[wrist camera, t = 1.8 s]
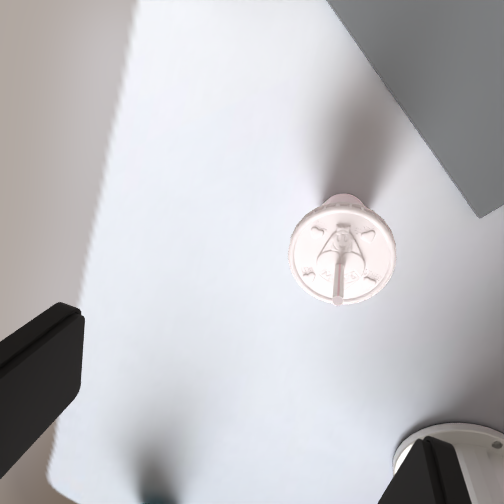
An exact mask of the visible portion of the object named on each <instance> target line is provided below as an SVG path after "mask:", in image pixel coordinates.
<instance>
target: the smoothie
mask: <svg viewBox="0 0 504 504" xmlns="http://www.w3.org/2000/svg"><path fill="white" fill-rule="evenodd" d="M288 260H289V265H290V269H291V272H292V274H293V276H294V278H295V280H296V281H297V282H298V284H299V285H300V286H301V287H302V288H303V289H304V290H305V291H306V292H307V293H309V294H310V295H312V296H313V297H315V298H317V299H319V300H321V301H324V302H328V303H332V304H334V305H336V306H340V305H342V304H353V303H358V302H361V301H364V300H366V299H368V298H370V297H372V296H374V295H375V294H377V293H378V292H379V291H380V290H381V289H382V288H383V287H384V286H385V285H386V284H387V283H388V281H389V280H390V278H391V276H392V274H393V271H394V268H395V264H396V247H395V241H394V238H393V234H392V231H391V230H390V228H389V227H388V225H387V224H386V222H385V221H384V219H382V218H381V217H380V216H379V215H378V214H376V213H375V212H374V211H373V210H371V209H368V208H366V207H365V205H364V204H363V203H362V202H361V201H360V200H359V199H358V198H357V197H355V196H353V195H351V194H346V193H341V194H336V195H334V196H332V197H330V198H329V199H327V200H326V201H325V202H324V203H323V205H322V206H320V207H317V208H315V209H314V210H312V211H311V212H309V213H308V214H306V215H305V216H304V217H303V218H302V220H301V221H300V222H299V223H298V224H297V225H296V227H295V230H294V232H293V234H292V236H291V240H290V244H289V251H288Z"/></svg>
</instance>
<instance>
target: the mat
mask: <svg viewBox="0 0 504 504" xmlns="http://www.w3.org/2000/svg"><path fill="white" fill-rule="evenodd" d="M326 1H327V2H328V3H329V5H330V6H331V8H332V9H333V11H334V12H335V13H336V15H337V16H338V18H339V19H340V21H341V22H342V23H343V25H344V26H345V28H346V29H347V31H348V32H349V33H350V35H351V36H352V38H353V39H354V41H355V42H356V43H357V45H358V46H359V48H360V49H361V51H362V52H363V53H364V55H365V56H366V58H367V59H368V61H369V62H370V63H371V65H372V66H373V68H374V69H375V71H376V72H377V74H378V75H379V76H380V78H381V79H382V81H383V82H384V84H385V85H386V86H387V88H388V89H389V91H390V92H391V94H392V95H393V96H394V98H395V99H396V101H397V102H398V104H399V105H400V106H401V108H402V109H403V111H404V112H405V114H406V115H407V116H408V118H409V119H410V121H411V122H412V124H413V125H414V126H415V128H416V129H417V131H418V132H419V134H420V135H421V137H422V138H423V139H424V141H425V142H426V144H427V145H428V147H429V148H430V149H431V151H432V152H433V154H434V155H435V157H436V158H437V159H438V161H439V162H440V164H441V165H442V167H443V168H444V169H445V171H446V172H447V174H448V175H449V177H450V178H451V179H452V181H453V182H454V184H455V185H456V187H457V188H458V189H459V191H460V192H461V194H462V195H463V197H464V198H465V200H466V201H467V202H468V204H469V205H470V207H471V208H472V210H473V211H474V212H475V214H476V215H477V217H479V218H482V217H483V216H485V215H487V214H489V213H490V212H492V211H494V210H495V209H497V208H499V207H501V206H502V205H504V0H326Z"/></svg>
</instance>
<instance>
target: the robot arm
mask: <svg viewBox="0 0 504 504" xmlns="http://www.w3.org/2000/svg"><path fill="white" fill-rule="evenodd" d="M84 326H85V318H84V316H82V315H81V311H80V309H78V308H76V307H73V306H70V305H67V304H65V303H61V302H58V303H56V304H54V305H53V306H52V307H50V308H49V309H47V310H46V311H44V312H43V313H41V314H40V315H38V316H37V317H35V318H34V319H33V320H31V321H30V322H28V323H27V324H25V325H24V326H23V327H21V328H19V329H18V330H17V331H15V332H14V333H13V334H11V335H9V336H8V337H6V338H5V339H4V340H2V341H1V342H0V479H1V478H2V477H3V476H4V475H5V474H6V473H7V471H8V470H9V469H10V468H11V467H12V466H13V465H14V464H15V463H16V462H17V461H18V460H19V458H20V457H21V456H22V455H23V454H24V453H25V452H26V451H27V450H28V449H29V448H30V447H31V445H32V444H33V443H34V442H35V441H36V440H37V439H38V438H39V437H40V435H42V434H43V432H44V431H45V430H46V429H47V428H48V427H49V426H50V425H51V424H52V423H53V422H54V421H55V419H56V418H57V417H58V416H59V415H60V414H61V413H62V412H63V411H64V410H65V409H66V408H67V406H68V405H69V404H70V403H71V402H72V401H73V400H74V399H75V397H76V396H77V394H78V392H79V390H80V386H81V371H82V356H83V341H84ZM392 467H393V479H392V480H391V482H390V484H389V485H388V487H387V489H386V490H385V492H384V494H383V495H382V497H381V499H380V500H379V502H378V504H504V434H503V433H501V432H498V431H496V430H493V429H491V428H488V427H484V426H480V425H476V424H468V423H445V424H439V425H433V426H430V427H427V428H424V429H421V430H419V431H418V432H416V433H414V434H412V435H410V436H409V437H408V438H407V439H406V440H404V441H403V442H402V444H401V445H400V446H399V447H398V449H397V451H396V453H395V455H394V458H393V466H392Z"/></svg>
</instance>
